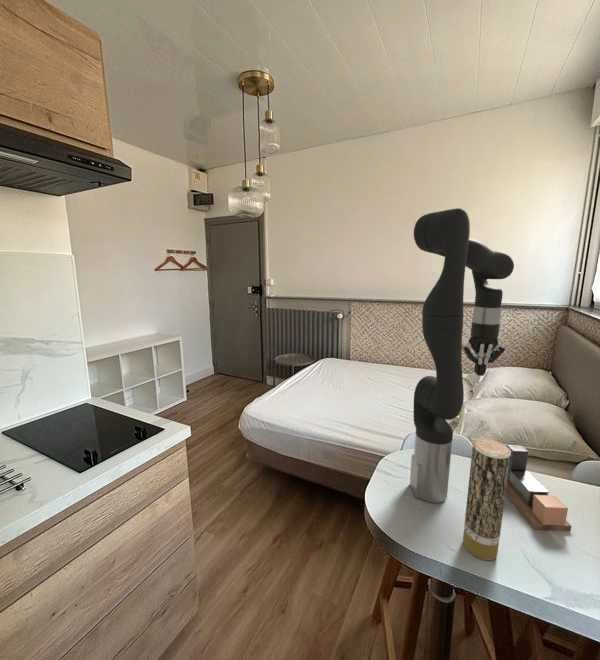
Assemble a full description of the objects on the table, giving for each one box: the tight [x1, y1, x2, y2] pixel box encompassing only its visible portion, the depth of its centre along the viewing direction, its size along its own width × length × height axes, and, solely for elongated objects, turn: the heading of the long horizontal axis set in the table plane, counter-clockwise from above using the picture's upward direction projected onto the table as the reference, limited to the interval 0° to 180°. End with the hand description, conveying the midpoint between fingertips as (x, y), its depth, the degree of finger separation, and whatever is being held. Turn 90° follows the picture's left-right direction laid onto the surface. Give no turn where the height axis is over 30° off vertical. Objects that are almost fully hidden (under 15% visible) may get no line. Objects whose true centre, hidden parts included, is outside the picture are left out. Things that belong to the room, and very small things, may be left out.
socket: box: [532, 495, 569, 526], centre depth 75 cm, size 5×4×5 cm
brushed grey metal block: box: [506, 444, 546, 505], centre depth 82 cm, size 4×16×10 cm, turn 176°
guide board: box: [505, 481, 573, 532], centre depth 84 cm, size 8×20×2 cm, turn 176°
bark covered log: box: [462, 438, 511, 561], centre depth 67 cm, size 7×7×25 cm
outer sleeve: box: [509, 471, 549, 506], centre depth 83 cm, size 5×8×4 cm, turn 176°
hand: (479, 374), depth 99 cm, fingers closed
